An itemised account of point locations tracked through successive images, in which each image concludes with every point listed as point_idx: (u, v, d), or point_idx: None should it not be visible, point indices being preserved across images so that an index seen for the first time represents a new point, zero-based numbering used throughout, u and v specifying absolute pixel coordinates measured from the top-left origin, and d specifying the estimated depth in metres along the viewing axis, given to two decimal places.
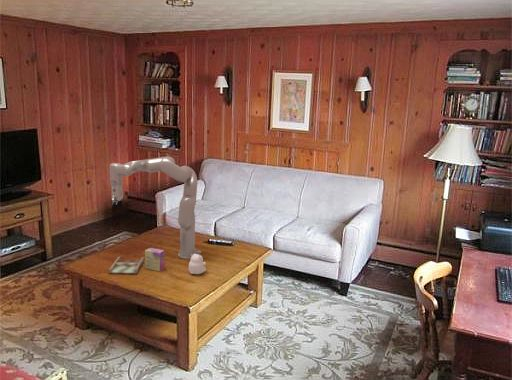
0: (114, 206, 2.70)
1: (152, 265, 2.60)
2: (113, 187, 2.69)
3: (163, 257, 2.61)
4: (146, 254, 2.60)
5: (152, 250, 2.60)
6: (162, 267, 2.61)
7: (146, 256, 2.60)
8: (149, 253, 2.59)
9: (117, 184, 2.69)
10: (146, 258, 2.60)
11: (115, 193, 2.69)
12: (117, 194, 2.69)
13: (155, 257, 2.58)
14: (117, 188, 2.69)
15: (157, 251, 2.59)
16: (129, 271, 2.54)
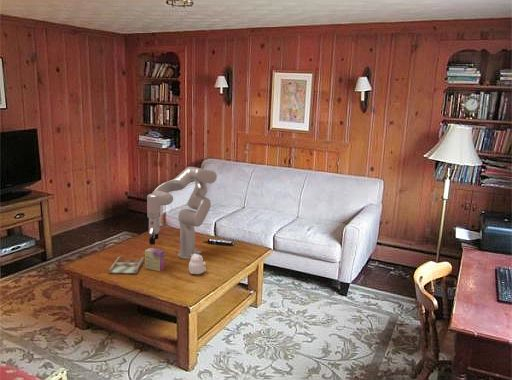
0: (151, 240, 2.52)
1: (152, 265, 2.60)
2: (151, 220, 2.51)
3: (163, 257, 2.61)
4: (146, 254, 2.60)
5: (152, 250, 2.60)
6: (162, 267, 2.61)
7: (146, 256, 2.60)
8: (149, 253, 2.59)
9: (155, 216, 2.52)
10: (146, 258, 2.60)
11: (153, 226, 2.51)
12: (155, 227, 2.52)
13: (155, 257, 2.58)
14: (155, 221, 2.51)
15: (157, 251, 2.59)
16: (129, 271, 2.54)
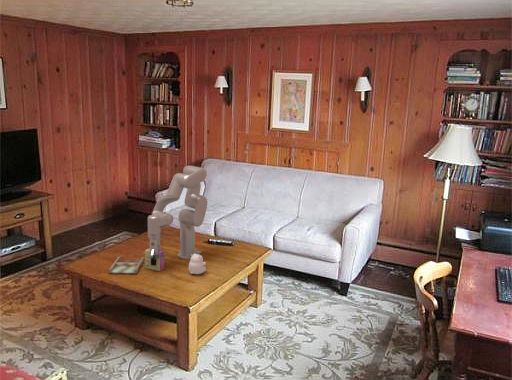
0: (153, 261, 2.57)
1: (152, 265, 2.60)
2: (151, 241, 2.54)
3: (163, 257, 2.61)
4: (146, 254, 2.60)
5: None
6: (162, 267, 2.61)
7: (146, 256, 2.60)
8: (149, 253, 2.59)
9: (155, 237, 2.55)
10: (146, 258, 2.60)
11: (153, 247, 2.55)
12: (156, 248, 2.55)
13: None
14: (156, 242, 2.55)
15: None
16: (129, 271, 2.54)
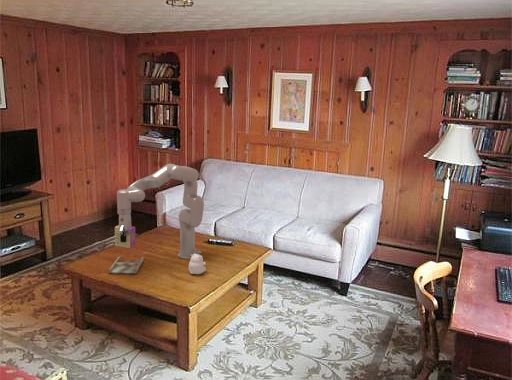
0: (122, 237, 2.48)
1: (122, 242, 2.51)
2: (121, 216, 2.45)
3: (133, 234, 2.52)
4: (116, 231, 2.50)
5: None
6: (133, 244, 2.52)
7: (116, 233, 2.51)
8: None
9: (125, 213, 2.46)
10: (116, 235, 2.51)
11: (123, 223, 2.46)
12: (125, 224, 2.46)
13: None
14: (125, 217, 2.45)
15: None
16: (129, 271, 2.54)
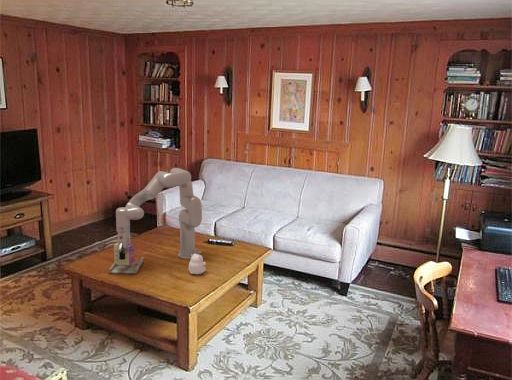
0: (121, 255, 2.50)
1: (121, 260, 2.53)
2: (120, 234, 2.47)
3: (132, 251, 2.54)
4: (115, 248, 2.52)
5: None
6: (131, 261, 2.54)
7: (115, 250, 2.53)
8: None
9: (124, 231, 2.48)
10: (115, 252, 2.53)
11: (122, 240, 2.48)
12: (124, 242, 2.48)
13: None
14: (124, 235, 2.48)
15: None
16: (129, 271, 2.54)
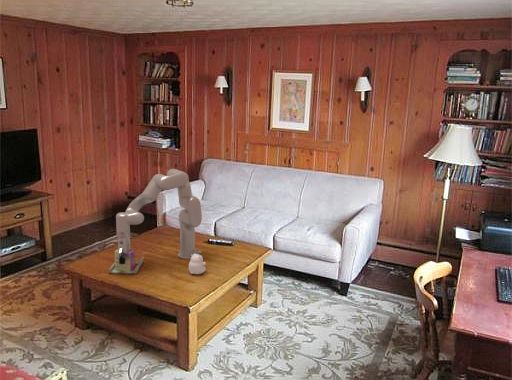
0: (121, 259, 2.49)
1: (122, 266, 2.54)
2: (120, 239, 2.48)
3: (133, 258, 2.56)
4: (116, 255, 2.54)
5: None
6: (133, 268, 2.56)
7: (116, 257, 2.54)
8: None
9: (124, 236, 2.49)
10: (116, 259, 2.54)
11: (122, 245, 2.48)
12: (124, 247, 2.49)
13: (125, 257, 2.52)
14: (124, 240, 2.48)
15: None
16: None
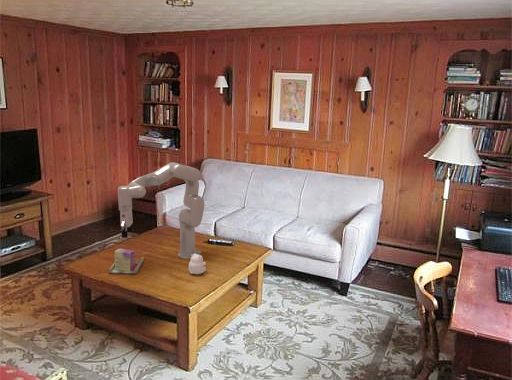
0: (123, 233, 2.48)
1: (122, 266, 2.54)
2: (122, 212, 2.46)
3: (133, 258, 2.56)
4: (116, 255, 2.54)
5: (122, 251, 2.54)
6: (133, 268, 2.56)
7: (116, 257, 2.54)
8: (119, 254, 2.53)
9: (126, 209, 2.47)
10: (116, 259, 2.54)
11: (124, 219, 2.47)
12: (126, 220, 2.47)
13: (125, 257, 2.52)
14: (126, 213, 2.47)
15: (127, 251, 2.53)
16: None
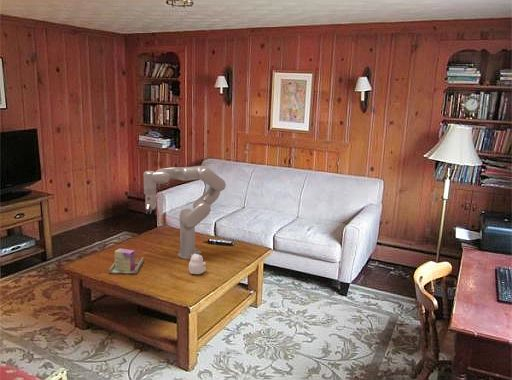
0: (148, 215, 2.64)
1: (122, 266, 2.54)
2: (147, 196, 2.62)
3: (133, 258, 2.56)
4: (116, 255, 2.54)
5: (122, 251, 2.54)
6: (133, 268, 2.56)
7: (116, 257, 2.54)
8: (119, 254, 2.53)
9: (151, 192, 2.63)
10: (116, 259, 2.54)
11: (149, 202, 2.63)
12: (151, 203, 2.63)
13: (125, 257, 2.52)
14: (151, 197, 2.63)
15: (127, 251, 2.53)
16: None
